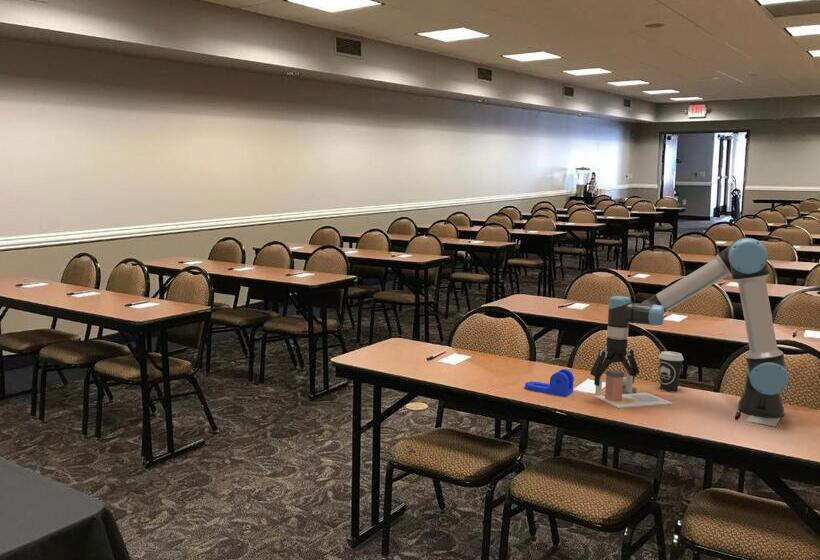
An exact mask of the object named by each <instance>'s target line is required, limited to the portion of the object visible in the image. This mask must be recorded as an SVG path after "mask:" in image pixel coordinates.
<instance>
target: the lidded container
mask: <svg viewBox="0 0 820 560" xmlns="http://www.w3.org/2000/svg"><path fill="white" fill-rule="evenodd" d="M624 376H625V373H624V372H623V371H621V370H618V369H614V370H613V369H611V370H609V369H608V370H605V387H604V388H605V389H604V390H605V391H604V395H605V398H606V399H608V400H610V401H622V389H623V377H624Z"/></svg>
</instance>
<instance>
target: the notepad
mask: <svg viewBox="0 0 820 560" xmlns="http://www.w3.org/2000/svg"><path fill="white" fill-rule="evenodd" d="M594 398H595V399H598V400H599V401H601V402H603V403H606V404H608V405H611V406H612V407H614V408H616V409H618V410H619V409H630V408H643V407H644V408H645V407H656V406H657V407H659V406H670V405H673V404H674V403H673V402H671V401H669V400H666V399H663V398H661V397H659V396H657V395H654V394H652V393H649V392H636V393H631V394H622V401H610V400H608V399H606V398H605V394H604V395H602V394H601V395H594Z"/></svg>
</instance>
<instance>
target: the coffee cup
mask: <svg viewBox="0 0 820 560" xmlns="http://www.w3.org/2000/svg"><path fill="white" fill-rule="evenodd" d="M658 358H659V372H660V373H659V385H660V387H659V388H661V389H663V390H662V391H664V390H667V391H666V392H670V391H675V392H677V391H678V388H679V383H680V377H681V371H682V365H683V362H684V360H685V359H684V356H683V354H682V353H680V352H678V351H677V352H676V351H669V350H668V351H666V350H665V351H661V352H660V354H659V356H658ZM661 389H660V390H661ZM676 390H677V391H676Z"/></svg>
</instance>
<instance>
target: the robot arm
mask: <svg viewBox="0 0 820 560" xmlns="http://www.w3.org/2000/svg"><path fill="white" fill-rule="evenodd" d="M768 257H769V255H768V250H767V248H766V246H765V245H764V244H763V243H762V242H761V241H760V240H758V239H755V238H752V237H741V238H738V239H736V240H734V241H733V242H732V243H731V244H730V245H729V246H727V247H725V249H723V250H722V251H721V252H719V253H717V254H716V257H715V258H714V259H712V260H711V261H709V262H707V263H706V264H704V265H703V266H701V267H699V268H698V269H696V270H694V271H692V272H691V273H689V274H688V275H686V276H684V277H683V278H681V279H679V280H678V281H676V282H674V283H673V284H670V285H669V286H668V287H666V288H664V289H663V290H661V291H660V292H658V293H656V294H654V295H653V296H650V297H649V298H648V299H647V298H646V299H645V300H643V301H642V302H641V303H639V302H638V303H637V302H636V303H635V302H632V300H631V297H629V296H624V295H623V296H622V295H612V296H611V297H610V298H609V303H608V310H607V311H608V312H607V313H608V314H607V330H606V335H607V338H606V345H605V346H606V350H602V349H600V350H598V355H597V358H596V360H595V362H594V363H593V366H592V367H591V370H590V372H589V374H590V375H591V376H593V377H594V381H593V382H594V386H595V394H597V396H600V395H602V387H603V377H602V375H603V374H604V373H605V372H606V371H607V369H608V367H609V366H611V364H612V363H613V364H614V363H615V364H616V363H621V364H622V366H623V367H624V369H625V370H626V371H627V372H628V374H626V377H627V380H626V391H627V392H629V393H632V387H633V384H634V383H635V377H637V375H638V374H640V369H639V366H638V364H637V361H636V358H635V355H634V350H633V349H630V348H628V338H629V327H630V326H629V325H630V324H637V325H639V324H640V325H648V326H649V325H650V326H662V325H663V324H664V319H665V318H664V315H665V313H666V312H668V311H670V310H672V309H673V308H675V307H677V306H678V305H680V304H682V303H684V302H685V301H688V299H691V298H692V297H693V296H695V295H698V294H699V293H701V292H702V291H704V290H706V289H707V288H709V287H711V286H713V285H714V284H716V283H718V282H719V281H721V280H723V279H725V278H726V277H728V276H729V277H732V280H733V281H734V282H736V283H737V284H738V290H739V296H740V303H741V307H742V313H743V318H744V319H743V320H744V323H745V324H744V325H745V330H746V335H747V341H748V348H749V350H748V353H746V355H745V357H746V358H745V359H746V373H745V384H744V385H745V386H744V390H743V392H742V394H741V396H740V398H739V400H738V402H737V403H738V404H737V409H738V410H739V409H740V410H741V412H742V413H744V414H748V415H752V416H755V417H762V418H781V417H780V416H782V417H783V415H784V416H785V407H784V404H783V401H782V394H781V393H782V392H784V390H786V388H787V386H788V385H789V381H790V376H789V373H788V371H787V367H786V361H785V357H784V356H785V354H784V352H783V351H782V350H780V349H779V348H778V346H777V345H778V343H777V339H776V338H777V337H776V334H775V333H776V332H775V328H774V321H773V315H772V309H771V303H770V300H769V292H768V287H767V282H766V280H767V279H768V277H769V276H770V270H769V268H770V267H769V263H768ZM627 348H628V349H627ZM626 356H627V358H626ZM740 410H739V411H740Z"/></svg>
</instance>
